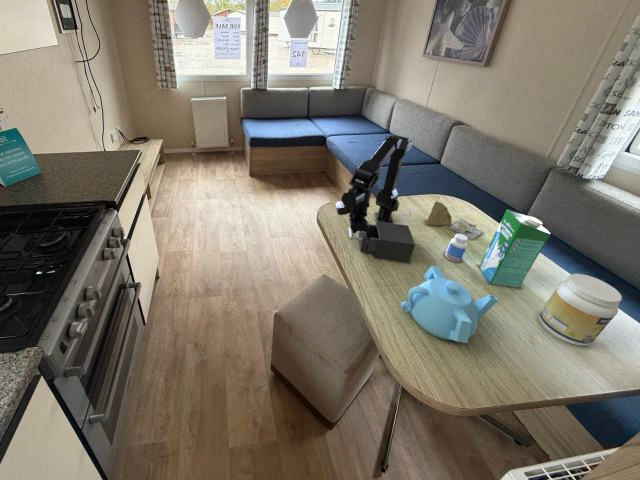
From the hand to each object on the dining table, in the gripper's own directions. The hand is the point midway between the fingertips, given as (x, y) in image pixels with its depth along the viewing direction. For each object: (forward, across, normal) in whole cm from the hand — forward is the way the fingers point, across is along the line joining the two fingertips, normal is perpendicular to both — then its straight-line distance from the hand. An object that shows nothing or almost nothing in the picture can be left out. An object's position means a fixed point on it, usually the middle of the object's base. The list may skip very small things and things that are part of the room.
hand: (353, 232), depth 121 cm
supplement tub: (+5, +26, +60) cm, 65 cm away
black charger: (+6, 0, +15) cm, 16 cm away
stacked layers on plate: (+5, -23, +50) cm, 55 cm away
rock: (+5, -26, +40) cm, 48 cm away
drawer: (+5, 0, +6) cm, 8 cm away
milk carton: (+5, +6, +51) cm, 51 cm away
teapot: (+6, +31, +25) cm, 40 cm away
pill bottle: (+5, -2, +38) cm, 39 cm away
